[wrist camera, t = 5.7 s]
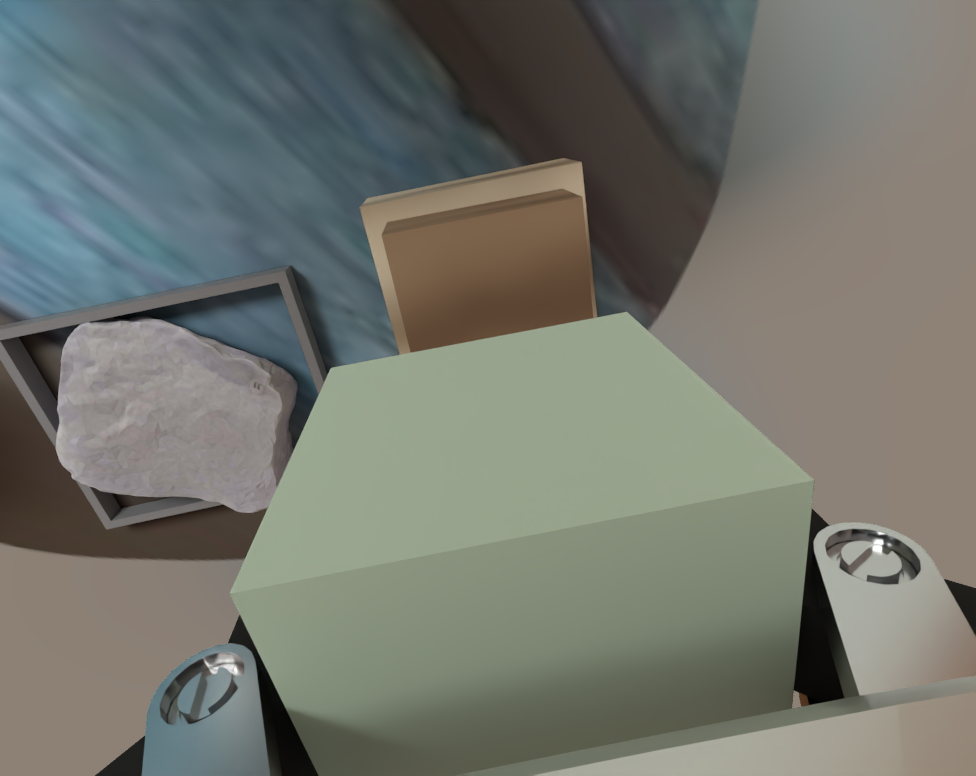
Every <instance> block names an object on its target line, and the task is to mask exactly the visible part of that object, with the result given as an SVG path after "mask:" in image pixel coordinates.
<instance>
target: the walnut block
mask: <svg viewBox="0 0 976 776" xmlns="http://www.w3.org/2000/svg"><path fill="white" fill-rule="evenodd" d="M382 239H383V243H384V247H385V251H386V255H387V259H388V263H389V267H390V271H391V275H392V280H393V284H394V288H395V292H396V296H397V300H398V304H399V308H400V312H401V316H402V320H403V324H404V328H405V332H406V336H407V340H408V344H409V348H410V352H411V353H412V352H417V351H423V350H428V349H433V348H439V347H444V346H449V345H454V344H460V343H465V342H470V341H475V340H481V339H486V338H491V337H497V336H502V335H507V334H512V333H518V332H523V331H528V330H533V329H539V328H544V327H549V326H555V325H560V324H565V323H570V322H576V321H581V320H586V319H592V318H593V308H592V297H591V286H590V275H589V264H588V253H587V241H586V230H585V219H584V208H583V197H582V196H579V195H577V194H574V193H572V192H570V191H567V190H565V189H558V190H553V191H547V192H542V193H537V194H532V195H526V196H521V197H516V198H511V199H505V200H500V201H495V202H489V203H484V204H479V205H474V206H468V207H463V208H458V209H453V210H447V211H442V212H437V213H432V214H426V215H421V216H416V217H411V218H405V219H400V220H395V221H390V222H387V224H386V226H385V228H384V231H383V233H382Z"/></svg>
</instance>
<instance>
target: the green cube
mask: <svg viewBox="0 0 976 776" xmlns="http://www.w3.org/2000/svg"><path fill="white" fill-rule="evenodd" d="M813 490H814V479H813V478H812V477H811V476H810V475H808V474H807V473H806V472H805V471H804V470H803V469H802V468H801V467H799V466H798V465H797V464H796V463H795V462H794V461H793V460H792V459H791V458H789V457H788V456H787V455H786V454H785V453H784V452H783V451H781V450H780V449H779V448H778V447H777V446H776V445H775V444H774V443H773V442H772V441H770V440H769V439H768V438H767V437H766V436H765V435H764V434H763V433H761V432H760V431H759V430H758V429H757V428H756V427H755V426H753V424H751V423H750V422H749V421H748V420H747V419H746V418H745V417H744V416H743V415H741V414H740V413H739V412H738V411H737V410H736V409H735V408H734V407H732V406H731V405H730V404H729V403H728V402H727V401H726V400H725V399H724V398H722V397H721V396H720V395H719V394H718V393H717V392H716V391H715V390H713V389H712V388H711V387H710V386H709V385H708V384H707V383H706V382H705V381H703V380H702V379H701V378H700V377H699V376H698V375H697V374H696V373H694V372H693V371H692V370H691V369H690V368H689V367H688V366H687V365H686V364H685V363H683V362H682V361H681V360H680V359H679V358H678V357H677V356H676V355H674V354H673V353H672V352H671V351H670V350H669V349H668V348H667V347H665V346H664V345H663V344H662V343H661V342H660V341H659V340H658V339H657V338H655V337H654V336H653V335H652V334H651V333H650V332H649V331H648V330H647V329H645V328H644V327H643V326H642V325H641V324H640V323H639V322H638V321H637V320H635V319H634V318H633V317H632V316H631V315H630V314H629V313H628V312H623V313H618V314H613V315H607V316H602V317H597V318H592V319H586V320H581V321H576V322H570V323H565V324H560V325H555V326H549V327H544V328H539V329H533V330H528V331H523V332H518V333H512V334H507V335H502V336H497V337H491V338H486V339H481V340H475V341H470V342H465V343H460V344H454V345H449V346H444V347H439V348H433V349H428V350H423V351H417V352H412V353H407V354H402V355H396V356H391V357H386V358H381V359H375V360H370V361H365V362H359V363H354V364H349V365H344V366H338V367H333V368H331V369H330V371H329V373H328V375H327V378H326V380H325V382H324V384H323V386H322V389H321V391H320V393H319V395H318V398H317V400H316V402H315V404H314V407H313V409H312V411H311V413H310V415H309V418H308V420H307V422H306V424H305V427H304V429H303V431H302V433H301V435H300V438H299V440H298V442H297V444H296V447H295V449H294V451H293V453H292V456H291V458H290V460H289V462H288V464H287V467H286V469H285V471H284V473H283V476H282V478H281V480H280V482H279V485H278V487H277V489H276V491H275V493H274V496H273V498H272V500H271V502H270V505H269V507H268V509H267V511H266V514H265V516H264V518H263V520H262V522H261V525H260V527H259V529H258V531H257V534H256V536H255V538H254V540H253V542H252V545H251V547H250V549H249V551H248V554H247V556H246V558H245V560H244V563H243V565H242V567H241V569H240V572H239V574H238V576H237V578H236V580H235V583H234V585H233V587H232V589H231V592H230V595H231V598H232V599H233V602H234V603H235V606H236V608H237V610H238V612H239V614H240V616H241V618H242V620H243V622H244V624H245V626H246V628H247V630H248V632H249V634H250V636H251V638H252V640H253V643H254V645H255V647H256V649H257V651H258V653H259V655H260V657H261V659H262V661H263V663H264V665H265V667H266V669H267V671H268V673H269V675H270V677H271V679H272V681H273V683H274V685H275V688H276V690H277V692H278V694H279V696H280V698H281V700H282V702H283V704H284V706H285V708H286V710H287V712H288V714H289V716H290V718H291V720H292V722H293V724H294V726H295V728H296V730H297V733H298V735H299V737H300V739H301V741H302V743H303V745H304V747H305V749H306V751H307V753H308V755H309V757H310V759H311V761H312V763H313V765H314V767H315V769H316V771H317V773H318V775H319V776H455V775H460V774H465V773H469V772H474V771H479V770H484V769H489V768H494V767H499V766H504V765H509V764H514V763H519V762H524V761H529V760H534V759H539V758H544V757H549V756H554V755H559V754H564V753H569V752H574V751H579V750H584V749H589V748H594V747H599V746H604V745H609V744H614V743H619V742H624V741H629V740H634V739H639V738H644V737H649V736H654V735H659V734H664V733H669V732H674V731H679V730H684V729H690V728H695V727H700V726H705V725H710V724H715V723H720V722H726V721H731V720H736V719H741V718H746V717H751V716H756V715H762V714H767V713H772V712H777V711H782V710H787V709H792V702H793V691H794V682H795V672H796V662H797V652H798V642H799V631H800V621H801V611H802V601H803V591H804V581H805V571H806V561H807V551H808V541H809V531H810V521H811V511H812V501H813Z"/></svg>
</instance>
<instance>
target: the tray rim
mask: <svg viewBox="0 0 976 776" xmlns="http://www.w3.org/2000/svg"><path fill="white" fill-rule="evenodd" d="M274 283H279V286H280V289H281V292H282V294H283V297H284V300H285V303H286V306H287V308H288V311H289V314H290V317H291V319H292V322H293V325H294V328H295V331H296V333H297V336H298V339H299V342H300V345H301V347H302V350H303V353H304V356H305V359H306V361H307V364H308V367H309V370H310V373H311V375H312V378H313V381H314V384H315V387H316V389H317V392H318V395H319V393H320V391H321V389H322V386H323V384H324V382H325V380H326V378H327V375H328V374H327V371H326V369H325V366H324V363H323V360H322V357H321V354H320V351H319V348H318V345H317V342H316V339H315V337H314V334H313V331H312V328H311V325H310V322H309V319H308V316H307V313H306V310H305V307H304V305H303V302H302V299H301V296H300V293H299V290H298V287H297V284H296V281H295V278H294V275H293V273H292V270H291V267H290V265H289V266H285V267H280V268H275V269H270V270H265V271H260V272H256V273H251V274H246V275H241V276H236V277H231V278H227V279H222V280H217V281H212V282H207V283H202V284H198V285H193V286H188V287H183V288H178V289H174V290H169V291H164V292H159V293H154V294H149V295H145V296H140V297H135V298H130V299H125V300H120V301H116V302H111V303H106V304H101V305H96V306H91V307H87V308H82V309H77V310H72V311H67V312H63V313H58V314H53V315H48V316H43V317H38V318H34V319H29V320H24V321H19V322H14V323H9V324H5V325H0V360H1V361H2V363H3V365H4V366H5V368H6V369H7V371H8V373H9V374H10V376H11V377H12V379H13V381H14V382H15V384H16V385H17V387H18V389H19V390H20V392H21V393H22V395H23V397H24V398H25V400H26V401H27V403H28V405H29V406H30V408H31V409H32V411H33V413H34V414H35V416H36V417H37V419H38V421H39V422H40V424H41V425H42V427H43V429H44V430H45V432H46V433H47V435H48V437H49V438H50V440H51V441H52V443H53V445H54V446H55V448H56V438H57V432H58V427H59V423H60V422H59V414H58V412H57V406H58V402H57V401H56V399H55V397H54V396H53V394H52V392H51V390H50V389H49V387H48V385H47V384H46V382H45V380H44V379H43V377H42V375H41V374H40V372H39V370H38V369H37V367H36V365H35V364H34V362H33V360H32V359H31V357H30V355H29V354H28V352H27V350H26V349H25V347H24V345H23V344H22V342H21V340H20V339H19V336H24V335H29V334H33V333H38V332H43V331H48V330H53V329H57V328H62V327H67V326H72V325H77V324H82V323H86V322H91V321H96V320H101V319H106V318H110V317H115V316H120V315H125V314H130V313H135V312H139V311H144V310H149V309H154V308H159V307H163V306H168V305H173V304H178V303H183V302H187V301H192V300H197V299H202V298H207V297H212V296H216V295H221V294H226V293H231V292H236V291H240V290H245V289H250V288H255V287H260V286H265V285H269V284H274ZM76 481H77V480H76ZM77 483H78V485H79V486H80V488H81V489H82V491H83V493H84V494H85V496H86V497H87V499H88V501H89V502H90V504H91V505H92V507H93V509H94V510H95V512H96V513H97V515H98V517H99V518H100V520H101V521H102V523H103V525H104V526H105V528H106V529H111V528H115V527H120V526H125V525H129V524H134V523H139V522H143V521H148V520H153V519H157V518H162V517H167V516H171V515H176V514H181V513H185V512H190V511H195V510H199V509H204V508H209V507H214V506H218V505H223V504H222V503H220V502H209V501H205V500H202V499H200V498H192V497H171V498H167V499H162V500H157V501H153V502H148V503H143V504H139V505H134V506H129V507H125V508H120V506H119V504H118V503H117V501H116V499H115V498H114V496H113V494H112V493H109V492H102V491H99V490H98V489H96V488H94V487H89V486H87V485H83V484H81V483H80V482H79V481H77Z"/></svg>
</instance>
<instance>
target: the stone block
mask: <svg viewBox="0 0 976 776" xmlns="http://www.w3.org/2000/svg"><path fill="white" fill-rule="evenodd" d="M297 390H298V384H297V381H296V380H295V379H294V378H293V376H292V375H290V374H289V373H288V372H287V371H286V370H284V369H283V368H281V367H279V366H277V365H275V364H274V363H272V362H270V361H268V360H267V359H265V358H260V357H257V356H255V355H252V354H250V353H247V352H245V351H241V350H238V349H235V348H232V347H229V346H226V345H225V344H224V343H222V342H219V341H217V340H215V339H209V338H207V337H203V336H200V335H197V334H195V333H193V332H192V331H190V330H188V329H186V328H183V327H180V326H177V325H174V324H173V323H169V322H167V321H164V320H158V319H153V318H151V317H148V316H139V317H134V318H131V319H129V320H126V319H120V318H106V319H101V320H96V321H91V322H86V323H82V324H80V325H79V326H78V327H77V328H75V329H74V331H73V332H72V333H71V335H70V336H69V337H68V338H67V341H66V344H65V345H64V347H63V350H62V356H61V375H60V383H59V392H58V406H57V412H58V414H59V422H60V423H59V427H58V432H57V438H56V451H57V455H58V457H59V461H60V462H61V464H62V465H63V467H64V468H66V469H67V470H68V471H69V472H70V473H72V475H71V477H72V478H73V479H74V480H77V481H79V482H80V483H81V484H83V485H87V486H89V487H94V488H96V489H98V490H99V491H102V492H109V493H115V494H125V495H133V496H146V497H192V498H200V499H202V500H205V501H209V502H220V503H222V504H224V505H226V506H227V507H229V508H231V509H233V510H235V511H238V512H245V513H254V512H256V511H259V510H262V509H266V508H268V507H269V505H270V502H271V500H272V498H273V496H274V493H275V491H276V489H277V487H278V485H279V482H280V480H281V478H282V476H283V473H284V471H285V469H286V467H287V464H288V462H289V460H290V458H291V456H292V453H293V451H294V450H293V446H292V437H291V432H290V430H289V420H290V417H291V413H292V410H293V409H294V406H295V402H296V394H297Z"/></svg>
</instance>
